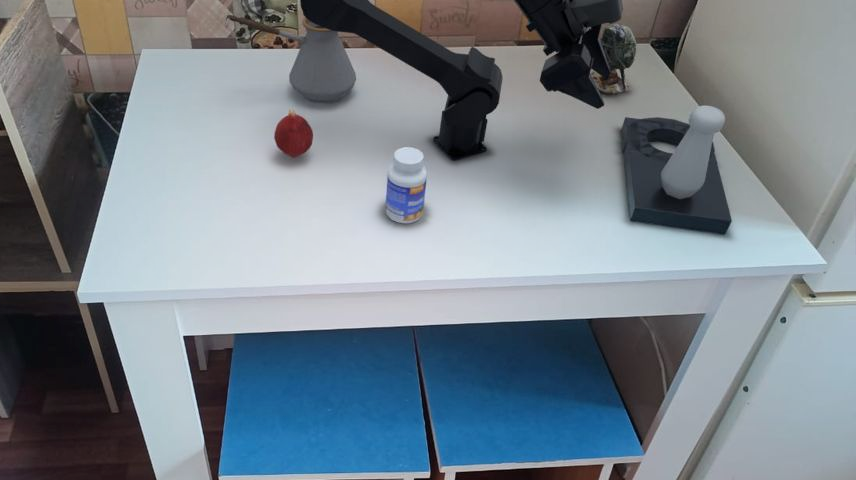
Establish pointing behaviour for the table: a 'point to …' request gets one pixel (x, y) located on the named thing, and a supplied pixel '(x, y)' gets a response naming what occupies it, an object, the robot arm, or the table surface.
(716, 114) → the white rounded peg
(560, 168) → the table surface
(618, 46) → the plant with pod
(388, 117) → the table surface
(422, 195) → the pill bottle
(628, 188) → the plate
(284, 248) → the table surface
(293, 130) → the onion
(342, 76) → the coffee pot
